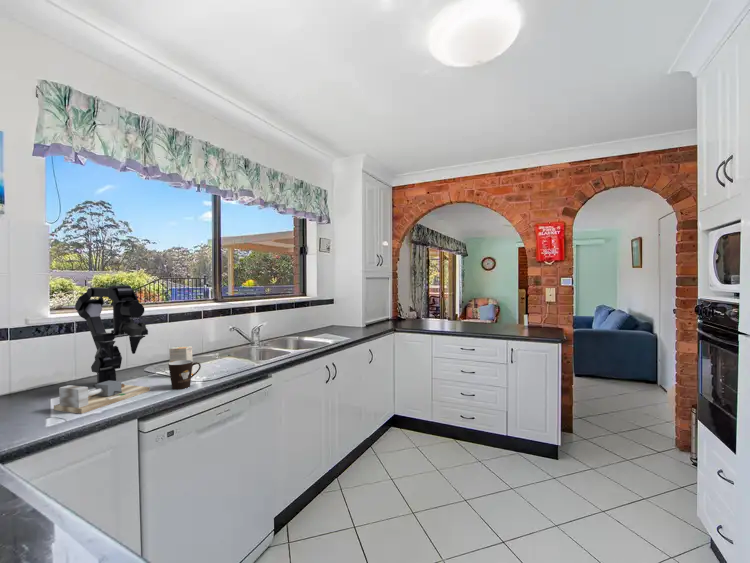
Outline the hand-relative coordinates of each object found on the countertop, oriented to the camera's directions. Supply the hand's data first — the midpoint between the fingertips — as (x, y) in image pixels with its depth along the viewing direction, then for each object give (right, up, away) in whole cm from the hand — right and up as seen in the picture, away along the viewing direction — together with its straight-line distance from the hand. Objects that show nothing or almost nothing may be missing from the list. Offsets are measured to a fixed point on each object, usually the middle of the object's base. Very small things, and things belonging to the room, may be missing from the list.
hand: (123, 355), depth 148 cm
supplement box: (+14, -13, +18) cm, 26 cm away
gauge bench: (+3, -13, -14) cm, 19 cm away
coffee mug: (+25, -13, +1) cm, 28 cm away
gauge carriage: (+4, -11, -16) cm, 20 cm away
